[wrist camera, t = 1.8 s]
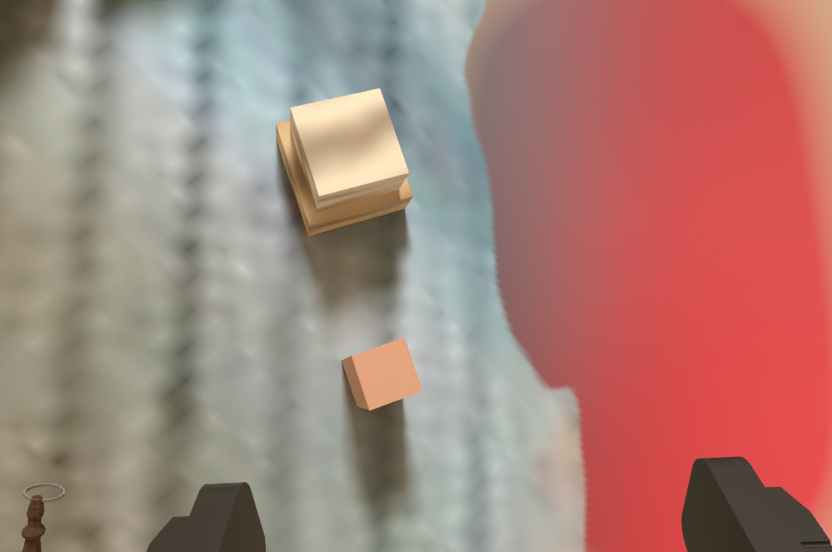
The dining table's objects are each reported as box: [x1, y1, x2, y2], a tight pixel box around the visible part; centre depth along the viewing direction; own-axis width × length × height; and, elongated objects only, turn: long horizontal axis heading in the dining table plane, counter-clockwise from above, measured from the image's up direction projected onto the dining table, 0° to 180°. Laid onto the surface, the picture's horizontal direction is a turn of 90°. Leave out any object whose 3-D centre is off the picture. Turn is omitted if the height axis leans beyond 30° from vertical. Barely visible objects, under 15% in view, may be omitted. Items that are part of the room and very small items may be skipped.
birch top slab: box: [290, 88, 409, 211], centre depth 53 cm, size 8×8×4 cm
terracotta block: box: [342, 338, 422, 411], centre depth 52 cm, size 4×4×9 cm
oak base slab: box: [276, 120, 413, 236], centre depth 57 cm, size 10×10×4 cm
